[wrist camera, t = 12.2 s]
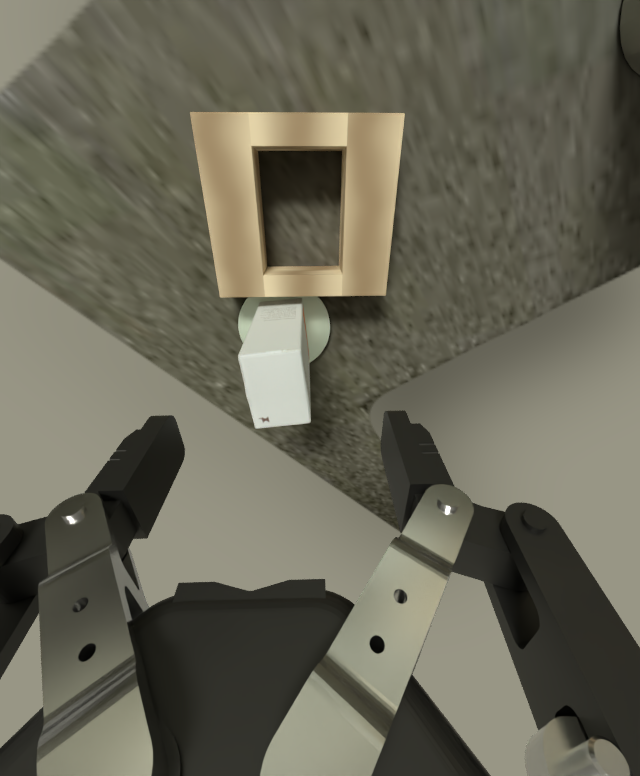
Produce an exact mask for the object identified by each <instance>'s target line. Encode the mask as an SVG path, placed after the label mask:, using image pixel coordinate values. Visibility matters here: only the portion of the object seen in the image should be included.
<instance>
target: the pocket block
mask: <svg viewBox="0 0 640 776" xmlns="http://www.w3.org/2000/svg"><path fill="white" fill-rule="evenodd" d="M190 116H191V122H192V128H193V134H194V140H195V147H196V153H197V159H198V165H199V171H200V177H201V183H202V189H203V195H204V201H205V208H206V214H207V220H208V226H209V232H210V238H211V244H212V250H213V256H214V263H215V269H216V275H217V281H218V287H219V293H220V297H297V296H386V287H387V277H388V268H389V258H390V249H391V239H392V230H393V220H394V211H395V201H396V192H397V182H398V173H399V163H400V154H401V144H402V135H403V125H404V116H405V113H273V112H190ZM258 151H342V173H341V209H340V245H339V266H274V267H267V255H266V243H265V231H264V219H263V207H262V194H261V182H260V170H259V158H258Z"/></svg>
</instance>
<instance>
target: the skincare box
mask: <svg viewBox="0 0 640 776" xmlns="http://www.w3.org/2000/svg"><path fill="white" fill-rule="evenodd" d="M238 359H239V364H240V368H241V372H242V376H243V380H244V385H245V391H246V396H247V400H248V402H249V406H250V410H251V414H252V417H253V421H254V425H255V428H256V429H258V428H267V427H276V426H287V425H298V424H306V423H310V422H311V403H310V368H309V349H308V341H307V333H306V325H305V316H304V307H303V299H302V298H296V299H286V300H275V301H264V302H260V303H259V305H258V308H257V310H256V313H255V315H254V318H253V320H252V323H251V325H250V328H249V330H248V333H247V335H246V338H245V340H244V343H243V345H242V348H241V350H240V352H239V355H238Z"/></svg>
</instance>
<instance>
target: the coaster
mask: <svg viewBox="0 0 640 776" xmlns="http://www.w3.org/2000/svg"><path fill="white" fill-rule="evenodd" d="M296 298H302V299H303V307H304V316H305V325H306V333H307V341H308V349H309V363H310V362H312V361H313V360H314V359H316V358H317V357H318V356H319V355H320V354H321V352H322V351H323V350H324V348H325V346H326V344H327V342H328V339H329V334H330V320H329V315H328V312H327V309H326V307H325V305H324V303H323V302H322V300H321V299H320V298H319V297H318V296H297V297H248V298H247V299H246V300H245V302H244V304H243V306H242V308H241V311H240V314H239V321H238V327H239V333H240V337H241V340H242V342H243V343H244V340H245V338H246V335H247V333H248V330H249V328H250V325H251V323H252V320H253V318H254V315H255V313H256V310H257V308H258V305H259V303H260V302H264V301H275V300H286V299H296Z"/></svg>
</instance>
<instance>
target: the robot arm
mask: <svg viewBox="0 0 640 776" xmlns="http://www.w3.org/2000/svg"><path fill="white" fill-rule="evenodd" d="M620 36H621V45H622V49H623V52H624V56H625V59H626V60H627V62H628V63H629V65H630V67H631V68H632V69H633V70H634V71H635V72H636V73H638V74H639V75H640V0H624V1H623V5H622V12H621V21H620ZM184 455H185V449H184V444H183V441H182V438H181V435H180V432H179V428H178V425H177V422H176V420H175V418H174V416H151V417H149V419H148V420H147V421H146V423H145V424H144V426H143V427H142V429H141V430H135V431H134V432H133V433H131V434H130V435H129V436H127V437H126V438H125V439H124V440H123V441H122V443H121V444H120V445H119V447H118V448H117V450H116V452H114V454H113V455H112V456H111V457H110V461H107V463H106V464H105V466H104V467H103V468H102V470H101V471H100V472H99V474H98V475H97V476H96V478H95V479H94V480H93V482H92V483H91V485H90V486H89V487H88V489H87V490H86V491H85V493H82V494H78V495H75V496H72V497H70V498H68V499H66V500H65V501H63V502H61V503H60V504H59V505H57V506H56V507H55V508H54V509H53V510H52V511H51V512H50V513H49V515H48V516H47V517H44V518H40V519H37V520H33V521H29V522H25V523H22V524H17V523H16V522H15V521H14V520H13V518H12V517H11V516H9V515H4V514H0V679H1V677H2V675H3V674H4V672H5V670H6V668H7V666H8V665H9V663H10V662H11V660H12V658H13V656H14V655H15V653H16V651H17V650H18V648H19V646H20V644H21V643H22V641H23V639H24V638H25V636H26V634H27V632H28V631H29V629H30V627H31V626H32V624H33V622H34V620H35V619H36V617H37V615H38V614H39V621H40V645H41V666H42V690H43V707H42V709H40V710H39V712H37V713H36V714H35V715H34V716H33V717H32V718H31V719H30V720H29V721H28V722H27V723H26V724H25V725H24V726H23V727H22V728H21V729H20V730H19V731H18V732H17V733H16V734H15V735H13V736H12V737H11V738H10V739H9V740H8V741H7V742H6V743H5V744H4V745H3V746H2V747H1V748H0V776H490V774H489V773H488V772H487V770H486V769H485V768H484V766H483V765H482V764H481V763H480V761H479V760H478V759H477V757H476V756H475V755H474V754H473V752H472V751H471V750H470V748H469V747H468V746H467V745H466V743H465V742H464V741H463V740H462V738H461V737H460V736H459V734H458V733H457V732H456V731H455V729H454V728H453V727H452V725H451V724H450V723H449V721H448V720H447V719H446V717H445V716H444V715H443V714H442V712H441V711H440V710H439V708H438V707H437V706H436V705H435V703H434V702H433V701H432V700H431V698H430V697H429V696H428V694H427V693H426V692H425V691H424V689H423V688H422V687H421V685H420V684H419V683H418V681H417V680H416V679H415V678H414V676H413V675H412V674H413V671H414V669H415V666H416V663H417V661H418V658H419V656H420V653H421V650H422V648H423V645H424V642H425V640H426V637H427V635H428V632H429V629H430V627H431V624H432V621H433V619H434V616H435V614H436V611H437V609H438V606H439V603H440V601H441V598H442V596H443V593H444V590H445V588H446V585H447V583H448V580H449V577H450V575H451V572H455V573H458V574H461V575H465V576H468V577H472V578H475V579H478V580H481V581H484V583H485V586H486V589H487V592H488V594H489V597H490V600H491V603H492V605H493V608H494V611H495V613H496V616H497V619H498V621H499V624H500V627H501V630H502V632H503V635H504V638H505V641H506V643H507V646H508V649H509V652H510V654H511V657H512V660H513V662H514V665H515V668H516V671H517V673H518V676H519V679H520V681H521V684H522V687H523V690H524V692H525V695H526V698H527V700H528V703H529V706H530V709H531V711H532V714H533V717H534V720H535V722H536V725H537V728H538V730H539V731H538V732H537V733H535V734H534V735H533V736H532V737H531V738H530V739H529V741H528V743H527V745H526V750H525V766H526V771H527V776H640V647H639V646H638V644H637V643H636V641H635V640H634V638H633V637H632V635H631V634H630V632H629V631H628V629H627V628H626V626H625V624H624V623H623V621H622V620H621V618H620V617H619V615H618V614H617V612H616V611H615V609H614V607H613V606H612V604H611V603H610V601H609V600H608V598H607V597H606V595H605V594H604V592H603V591H602V589H601V588H600V586H599V584H598V583H597V581H596V580H595V578H594V577H593V575H592V574H591V572H590V571H589V569H588V567H587V566H586V564H585V563H584V561H583V560H582V558H581V557H580V555H579V554H578V552H577V551H576V549H575V547H574V546H573V544H572V543H571V541H570V540H569V538H568V537H567V535H566V534H565V532H564V531H563V529H562V528H561V526H560V525H559V523H558V522H557V521H556V519H555V518H554V517H552V516H551V515H550V514H549V513H548V512H546V511H545V510H543V509H541V508H539V507H537V506H535V505H532V504H527V503H514V504H512V505H510V506H509V507H508V508H507V509H506V511H505V512H503V511H499V510H495V509H491V508H487V507H483V506H480V505H477V504H475V503H472V502H471V500H470V498H469V497H468V496H467V495H466V494H465V493H463V491H461V490H460V489H458V488H456V487H454V485H453V482H452V480H451V478H450V476H449V474H448V472H447V469H446V467H445V465H444V463H443V461H442V459H441V457H440V454H438V450H437V448H436V446H435V445H434V441H433V439H432V437H431V435H430V433H429V432H428V431H427V430H426V429H425V428H424V427H423V426H422V425H421V424H411V423H410V421H409V418H408V416H407V413H406V412H405V411H385V413H384V419H383V427H382V436H381V455H382V460H383V464H384V468H385V472H386V476H387V480H388V484H389V488H390V492H391V496H392V500H393V504H394V508H395V512H396V516H397V520H398V524H399V528H400V532H401V533H402V534H401V535H400V537H399V538H397V537H396V538H394V540H393V541H392V542H391V544H390V545H389V547H388V549H387V551H386V552H385V554H384V556H383V557H382V559H381V561H380V563H379V564H378V566H377V568H376V570H375V571H374V573H373V575H372V576H371V578H370V580H369V581H368V583H367V585H366V587H365V588H364V590H363V592H362V594H361V595H360V597H359V599H358V600H357V602H356V604H355V605H354V604H353V603H352V602H351V601H349V600H348V599H346V598H344V597H342V596H340V595H338V594H336V593H333V592H330V591H326V590H325V579H311V580H310V579H309V580H288V581H284V582H281V583H278V584H274V585H271V586H268V587H264V588H261V589H257V590H254V591H246V590H242V589H239V588H235V587H231V586H228V585H224V584H220V583H216V582H194V583H179V584H178V586H177V590H176V592H175V595H174V596H172V597H169V598H167V599H165V600H162V601H160V602H158V603H156V604H155V605H153V606H151V607H150V608H149V606H148V604H147V602H146V599H145V596H144V593H143V590H142V587H141V583H140V580H139V577H138V573H137V570H136V567H135V563H134V560H133V557H132V553H131V551H130V549H129V546H130V544H131V542H132V540H133V539H141V538H142V539H143V538H148V535H149V533H150V531H151V529H152V527H153V525H154V523H155V520H156V518H157V516H158V514H159V512H160V510H161V507H162V505H163V503H164V501H165V499H166V497H167V495H168V493H169V491H170V488H171V486H172V484H173V482H174V480H175V478H176V476H177V473H178V471H179V469H180V467H181V465H182V462H183V460H184Z"/></svg>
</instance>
